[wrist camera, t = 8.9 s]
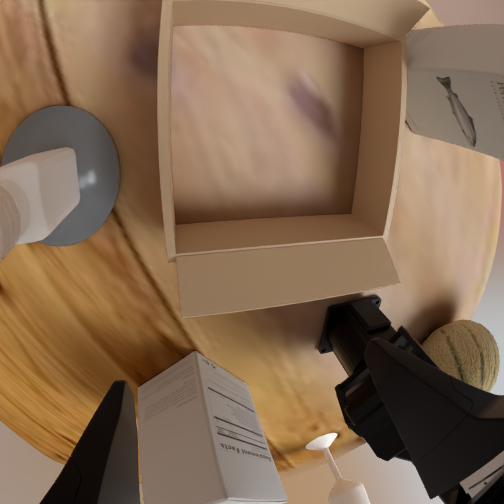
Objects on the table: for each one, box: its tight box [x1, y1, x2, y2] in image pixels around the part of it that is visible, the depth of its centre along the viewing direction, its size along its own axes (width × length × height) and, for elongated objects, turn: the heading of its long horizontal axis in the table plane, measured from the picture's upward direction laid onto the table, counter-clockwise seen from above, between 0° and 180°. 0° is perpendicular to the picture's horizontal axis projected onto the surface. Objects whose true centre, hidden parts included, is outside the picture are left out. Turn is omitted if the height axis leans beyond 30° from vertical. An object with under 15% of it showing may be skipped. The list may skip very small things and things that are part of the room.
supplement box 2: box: [404, 24, 504, 161], centre depth 13 cm, size 7×7×13 cm
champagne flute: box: [306, 433, 370, 504], centre depth 35 cm, size 7×7×24 cm
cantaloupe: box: [421, 320, 500, 393], centre depth 31 cm, size 15×15×15 cm
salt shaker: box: [0, 147, 80, 262], centre depth 11 cm, size 4×4×10 cm
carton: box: [157, 0, 430, 318], centre depth 15 cm, size 19×15×7 cm
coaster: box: [1, 105, 121, 246], centre depth 15 cm, size 10×10×1 cm
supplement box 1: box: [138, 351, 288, 504], centre depth 21 cm, size 9×9×15 cm
